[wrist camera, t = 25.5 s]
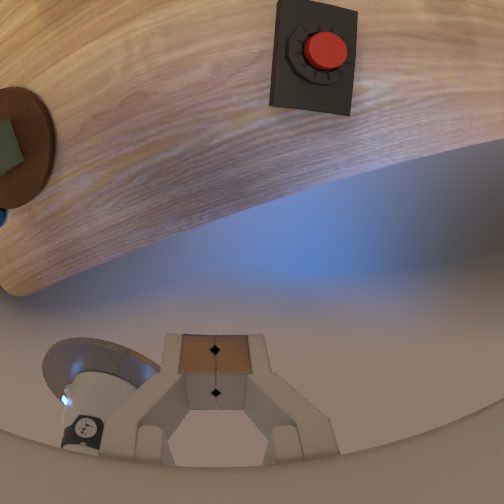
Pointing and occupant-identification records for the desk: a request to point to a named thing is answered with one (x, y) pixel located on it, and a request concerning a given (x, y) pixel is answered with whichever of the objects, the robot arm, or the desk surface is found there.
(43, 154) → the kettle
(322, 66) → the switch
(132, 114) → the desk surface
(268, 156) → the desk surface
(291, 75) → the switch base
